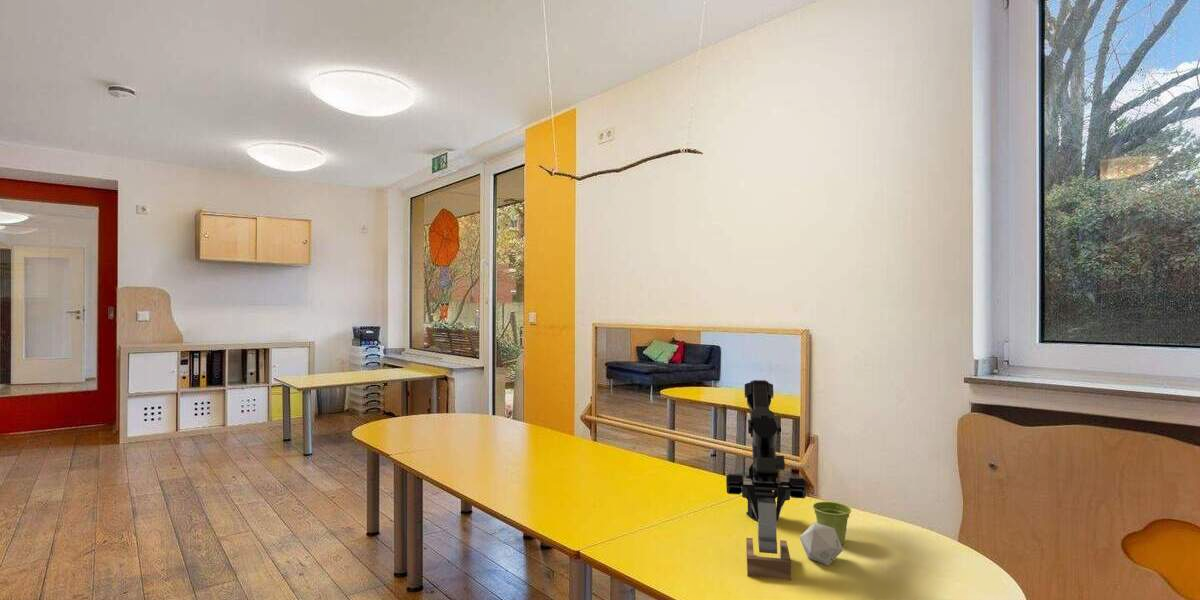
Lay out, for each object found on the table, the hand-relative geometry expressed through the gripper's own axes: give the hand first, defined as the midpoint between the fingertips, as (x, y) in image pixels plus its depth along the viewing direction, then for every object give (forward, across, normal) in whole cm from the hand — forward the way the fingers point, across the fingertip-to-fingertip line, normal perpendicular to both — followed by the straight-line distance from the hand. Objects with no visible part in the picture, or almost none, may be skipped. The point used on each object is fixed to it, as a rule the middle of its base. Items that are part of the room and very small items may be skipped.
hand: (767, 519), depth 137 cm
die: (+3, +13, +13) cm, 19 cm away
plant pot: (-6, +17, +22) cm, 29 cm away
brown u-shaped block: (+7, 0, +9) cm, 11 cm away
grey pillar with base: (+4, 0, +6) cm, 7 cm away
